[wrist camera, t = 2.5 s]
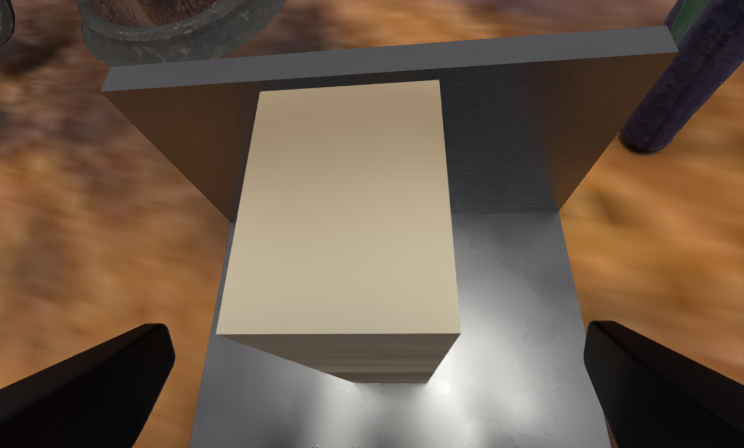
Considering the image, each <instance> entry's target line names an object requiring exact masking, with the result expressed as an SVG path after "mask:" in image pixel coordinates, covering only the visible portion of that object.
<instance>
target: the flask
mask: <svg viewBox="0 0 744 448" xmlns="http://www.w3.org/2000/svg"><path fill="white" fill-rule="evenodd" d="M666 25H667V27H668V30H669V32H670V34H671V36H672V38H673V40H674V42H675V44H676V46H677V49H678V51H679V53H678V54H677V55H676V57H675V58H674V59H673V61H672V62H671V63H670V65H669V66H668V67H667V69H666V70H665V71H664V73H663V74H662V75H661V77H660V78H659V79H658V81H657V82H656V83H655V84H654V86H653V87H652V88H651V90H650V91H649V92H648V94H647V95H646V96H645V98H644V99H643V100H642V102H641V103H640V104H639V106H638V107H637V108H636V110H635V111H634V112H633V114H632V115H631V116H630V118H629V119H628V120H627V122H626V123H625V124H624V125H623V127H622V128H621V129H620V131H619V132H618V133H617V135H618V138H619V140H621V141H620V142H621V143H622V145H623V146H624V149H626V148H627V149H628V150H630V151H632V152H636V153H638V154H641V155H652V156H653V155H655V154H657V153H659V152H661V151H662V150H663V148H664V147H665V146H666V145H668V144H669V143H670V142H671V140H672V139H673V137H674V136H675V134H676V133H677V132H678V131H679V130H680V129H681V128H682V127H683V126H684V125H685V123H686V122H687V121H688V120H689V119H690V118H691V116H692V115H693V114H694V113H695V112H696V111H697V110H698V109H699V108H700V107H701V106H702V105H703V104H704V103H705V102H706V101H707V100H708V99H709V97H710V96H711V95H712V94H713V93H714V92H715V91H716V89H717V88H718V87H719V86H720V85H721V84H722V83H723V82H724V81H725V80H726V79H727V78H728V77H729V76H730V75H731V74H732V73H733V72H734V71H735V70H736V69H737V68H738V67H739V66H740V64H741V63H742V62H743V61H744V0H678V1H677V2H676V4H675V5H674V7H673V8H672V10H671V11H670V13H669V14H668V16H667V17H666V19H665V20H664V22H663V23H662V25H661V26H666Z"/></svg>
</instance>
